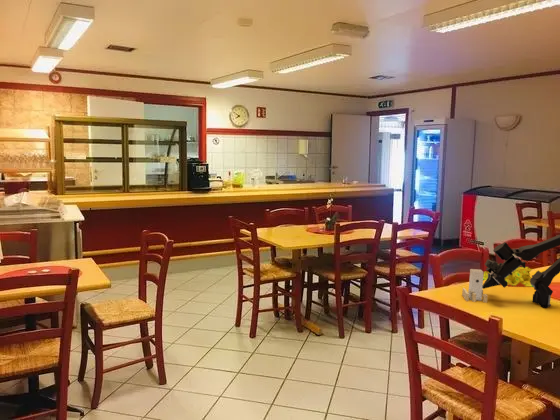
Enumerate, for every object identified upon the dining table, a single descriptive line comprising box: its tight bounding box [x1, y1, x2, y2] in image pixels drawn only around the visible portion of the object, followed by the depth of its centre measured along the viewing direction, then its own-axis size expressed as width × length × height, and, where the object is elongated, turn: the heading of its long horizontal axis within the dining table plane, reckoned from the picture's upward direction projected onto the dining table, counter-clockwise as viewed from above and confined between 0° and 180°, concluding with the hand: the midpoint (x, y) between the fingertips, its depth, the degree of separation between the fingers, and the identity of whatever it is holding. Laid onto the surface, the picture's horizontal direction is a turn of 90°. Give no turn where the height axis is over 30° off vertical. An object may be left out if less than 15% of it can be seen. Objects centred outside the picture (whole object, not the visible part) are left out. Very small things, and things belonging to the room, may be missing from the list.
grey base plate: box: [461, 287, 488, 304], centre depth 225 cm, size 17×12×4 cm
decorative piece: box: [483, 266, 535, 288], centre depth 263 cm, size 26×8×30 cm
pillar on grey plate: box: [468, 268, 484, 302], centre depth 225 cm, size 5×5×14 cm
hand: (482, 287), depth 224 cm, fingers closed
